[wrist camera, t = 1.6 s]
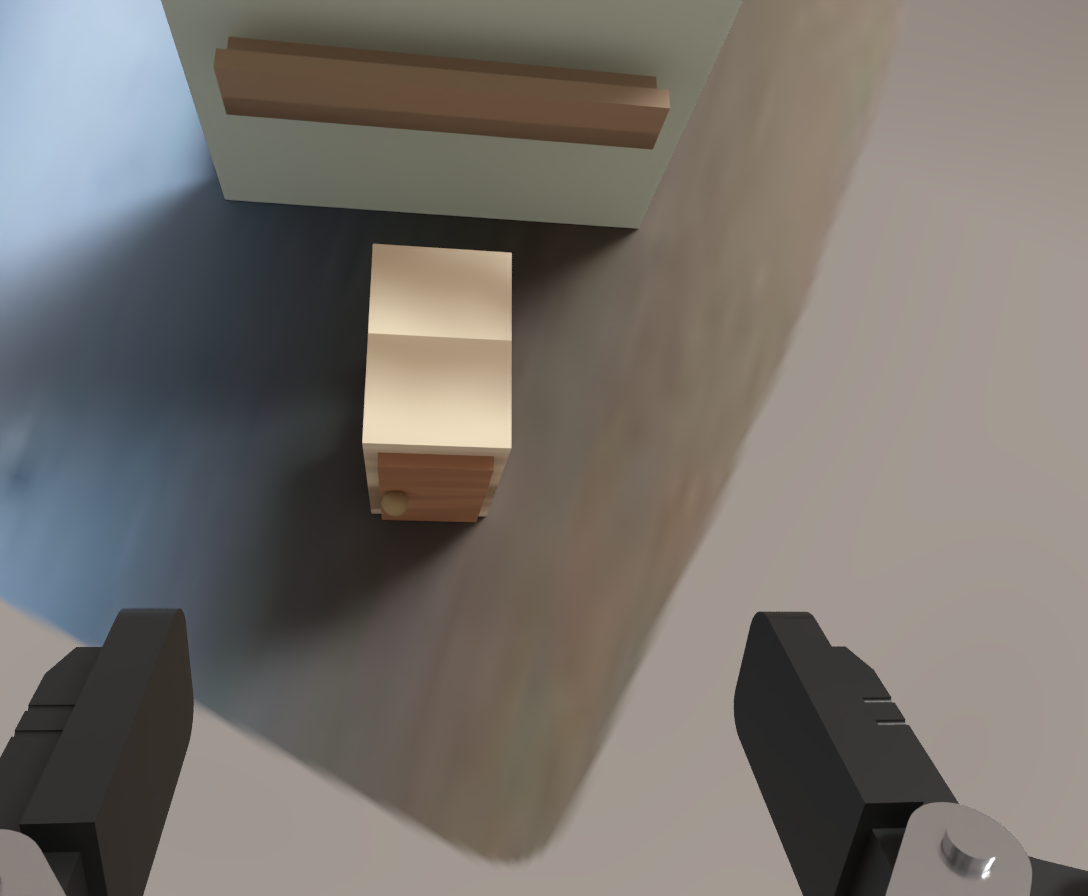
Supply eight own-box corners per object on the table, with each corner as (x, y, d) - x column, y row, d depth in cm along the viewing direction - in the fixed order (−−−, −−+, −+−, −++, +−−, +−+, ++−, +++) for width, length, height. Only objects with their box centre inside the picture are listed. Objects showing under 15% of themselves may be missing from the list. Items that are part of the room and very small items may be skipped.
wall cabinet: (485, 547, 41) (511, 488, 31) (369, 545, 40) (360, 483, 31) (487, 359, 44) (511, 252, 34) (379, 354, 43) (372, 243, 33)
